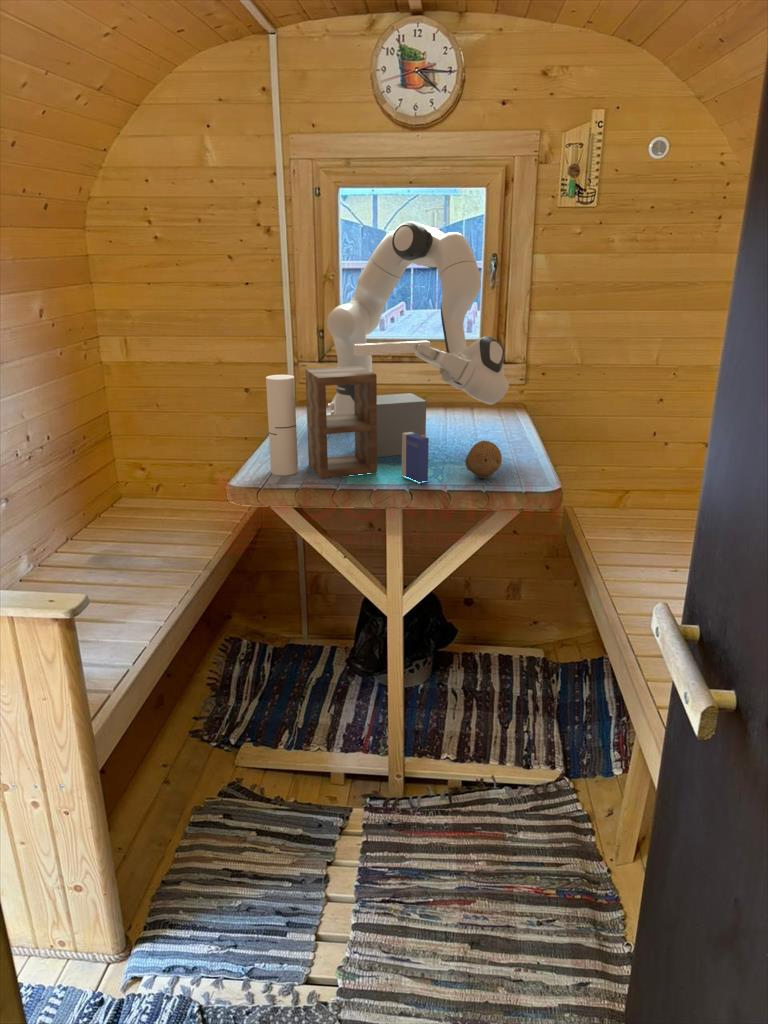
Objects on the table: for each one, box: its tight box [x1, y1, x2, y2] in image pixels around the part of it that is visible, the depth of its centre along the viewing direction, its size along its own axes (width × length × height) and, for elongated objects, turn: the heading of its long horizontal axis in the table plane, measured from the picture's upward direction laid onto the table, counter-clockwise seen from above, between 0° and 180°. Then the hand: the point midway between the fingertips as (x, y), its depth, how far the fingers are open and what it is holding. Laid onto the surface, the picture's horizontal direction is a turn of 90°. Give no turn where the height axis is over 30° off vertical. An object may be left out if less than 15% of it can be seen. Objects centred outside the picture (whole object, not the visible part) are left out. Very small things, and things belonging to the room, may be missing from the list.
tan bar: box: [354, 340, 431, 356], centre depth 197 cm, size 3×20×3 cm, turn 108°
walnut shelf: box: [304, 366, 378, 480], centre depth 199 cm, size 14×15×26 cm
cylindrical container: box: [265, 374, 299, 476], centre depth 197 cm, size 7×7×25 cm
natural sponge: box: [464, 440, 503, 480], centre depth 193 cm, size 9×9×10 cm
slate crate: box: [377, 392, 427, 458], centre depth 219 cm, size 12×16×15 cm
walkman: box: [401, 432, 430, 482], centre depth 193 cm, size 8×3×12 cm, turn 33°
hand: (414, 345), depth 198 cm, fingers closed on tan bar, 3 cm apart
